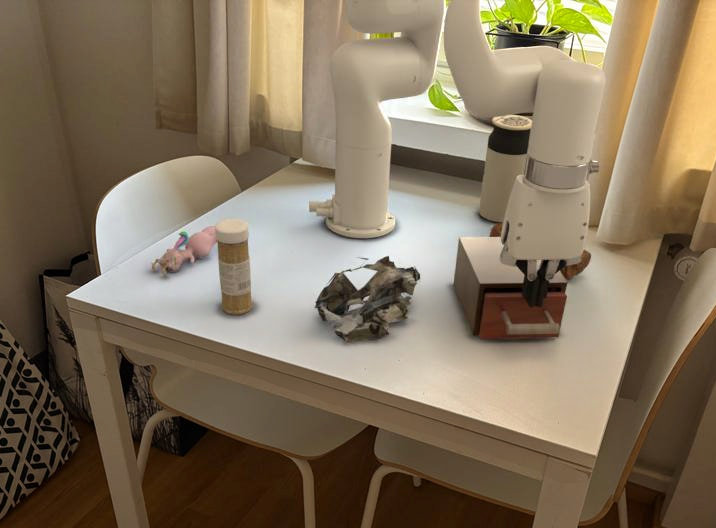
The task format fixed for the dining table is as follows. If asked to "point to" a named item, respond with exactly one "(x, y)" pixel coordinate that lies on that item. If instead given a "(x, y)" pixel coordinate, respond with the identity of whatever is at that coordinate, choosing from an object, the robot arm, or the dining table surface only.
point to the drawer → (520, 314)
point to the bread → (566, 271)
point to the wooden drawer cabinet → (486, 275)
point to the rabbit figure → (187, 249)
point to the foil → (367, 301)
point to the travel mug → (503, 164)
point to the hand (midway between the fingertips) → (532, 302)
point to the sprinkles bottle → (234, 265)
